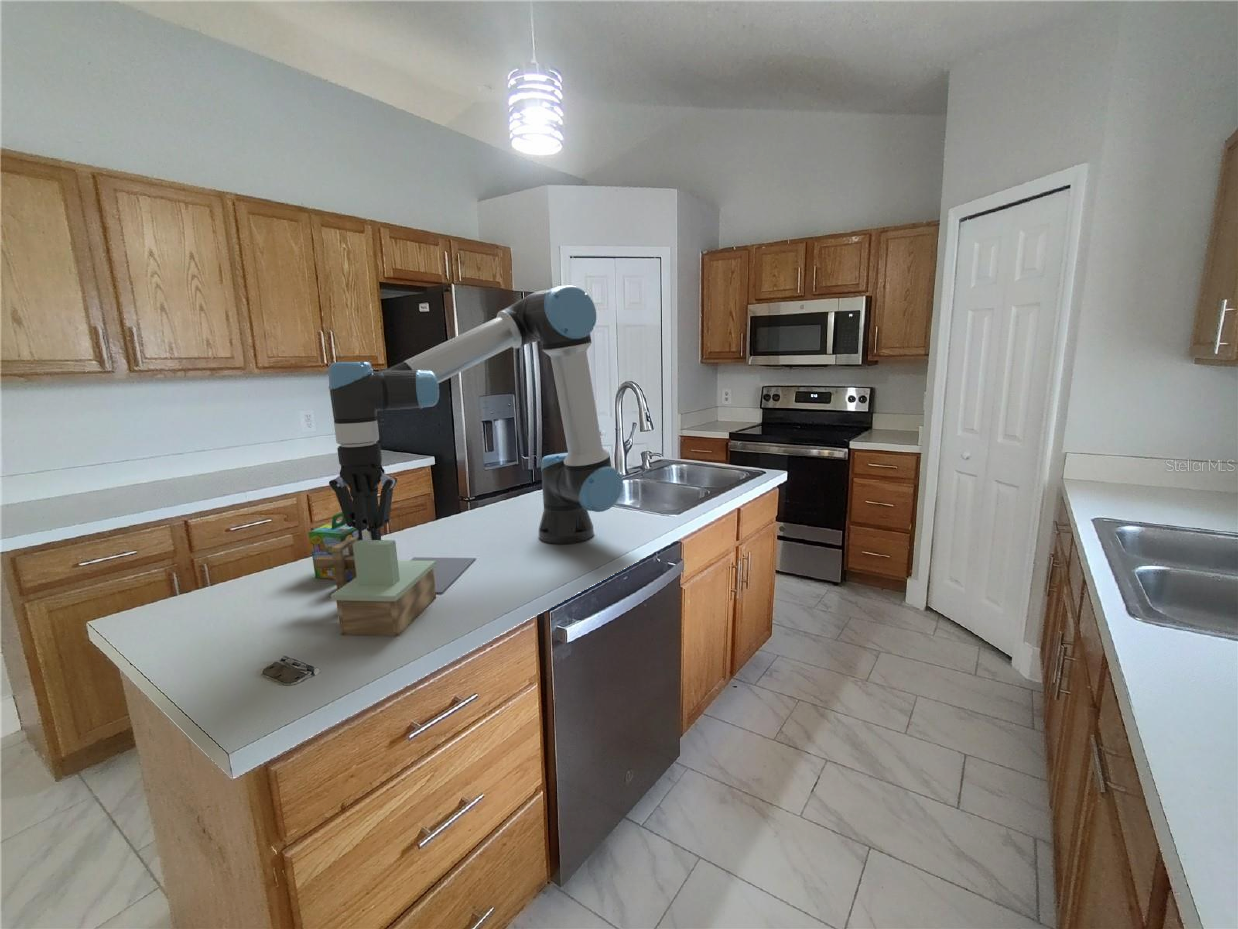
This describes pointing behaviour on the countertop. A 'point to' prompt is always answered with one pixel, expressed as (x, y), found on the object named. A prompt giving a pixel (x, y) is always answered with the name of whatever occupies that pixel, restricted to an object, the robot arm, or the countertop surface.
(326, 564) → the brown wooden bar
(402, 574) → the lid
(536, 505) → the countertop surface
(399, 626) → the wooden storage box
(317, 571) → the chalk box
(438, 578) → the mat
